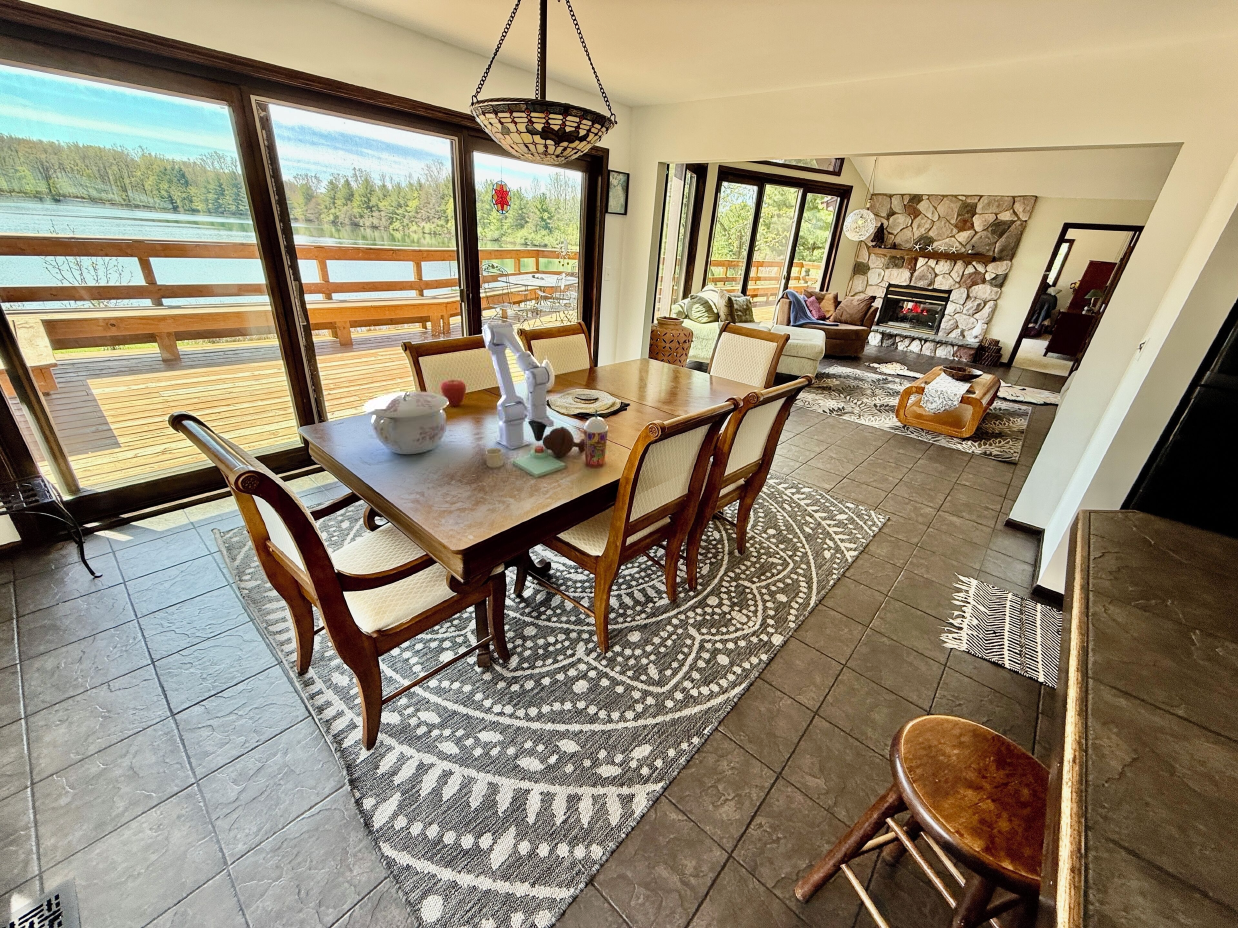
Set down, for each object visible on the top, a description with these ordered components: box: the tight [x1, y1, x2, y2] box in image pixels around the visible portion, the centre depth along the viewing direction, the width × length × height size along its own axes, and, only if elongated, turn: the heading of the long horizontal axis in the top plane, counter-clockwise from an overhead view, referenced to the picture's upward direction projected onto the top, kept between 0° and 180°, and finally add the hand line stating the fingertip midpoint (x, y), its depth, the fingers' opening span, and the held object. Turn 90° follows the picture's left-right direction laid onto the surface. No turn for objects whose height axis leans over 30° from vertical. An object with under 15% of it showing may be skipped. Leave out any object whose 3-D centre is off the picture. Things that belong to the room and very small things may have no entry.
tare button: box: [534, 445, 544, 453], centre depth 169 cm, size 3×3×2 cm
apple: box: [439, 379, 467, 407], centre depth 215 cm, size 11×11×12 cm
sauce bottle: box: [541, 355, 556, 392], centre depth 240 cm, size 8×8×18 cm
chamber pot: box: [363, 390, 449, 455], centre depth 170 cm, size 28×28×21 cm
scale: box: [512, 447, 566, 479], centre depth 165 cm, size 14×12×3 cm
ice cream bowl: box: [542, 426, 585, 458], centre depth 172 cm, size 11×11×15 cm
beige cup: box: [485, 447, 504, 469], centre depth 163 cm, size 6×6×5 cm
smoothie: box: [583, 409, 609, 468], centre depth 164 cm, size 8×8×20 cm
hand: (538, 440), depth 167 cm, fingers closed
